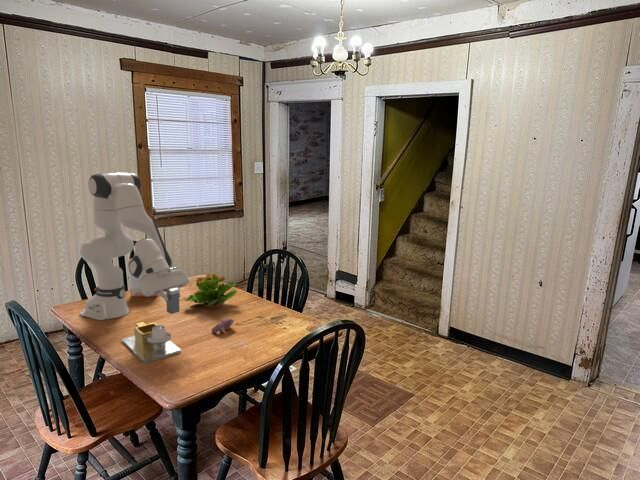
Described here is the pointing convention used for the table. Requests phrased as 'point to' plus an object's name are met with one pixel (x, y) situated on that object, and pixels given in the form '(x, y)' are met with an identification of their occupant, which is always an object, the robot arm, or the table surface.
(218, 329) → the video game controller
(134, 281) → the cracker box
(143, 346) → the silver and gold device
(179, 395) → the table surface
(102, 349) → the table surface
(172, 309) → the tall grey square post
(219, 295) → the potted flower
